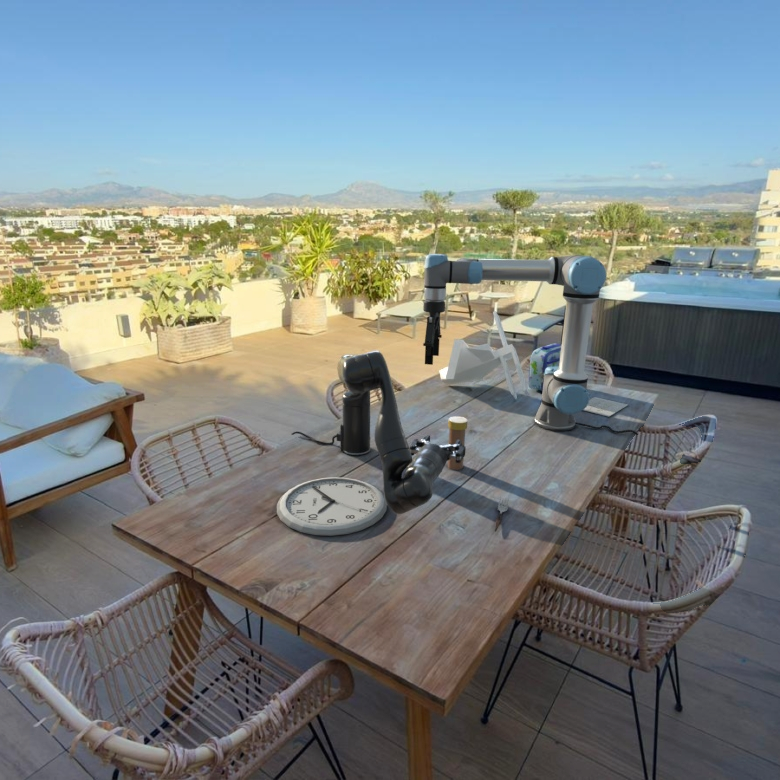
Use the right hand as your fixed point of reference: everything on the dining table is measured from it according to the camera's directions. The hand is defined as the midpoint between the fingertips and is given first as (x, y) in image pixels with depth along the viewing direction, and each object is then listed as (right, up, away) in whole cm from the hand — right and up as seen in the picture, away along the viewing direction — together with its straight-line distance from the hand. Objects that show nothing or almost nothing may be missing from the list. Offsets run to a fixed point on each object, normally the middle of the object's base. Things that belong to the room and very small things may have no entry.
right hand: (431, 359), depth 188 cm
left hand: (0, -25, -42) cm, 49 cm away
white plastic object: (+27, -12, +56) cm, 63 cm away
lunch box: (+61, -10, +64) cm, 90 cm away
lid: (+6, -20, -25) cm, 33 cm away
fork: (+14, -45, -50) cm, 68 cm away
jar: (+6, -35, -20) cm, 41 cm away
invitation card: (+76, -18, +39) cm, 88 cm away
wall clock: (-31, -42, -45) cm, 69 cm away
